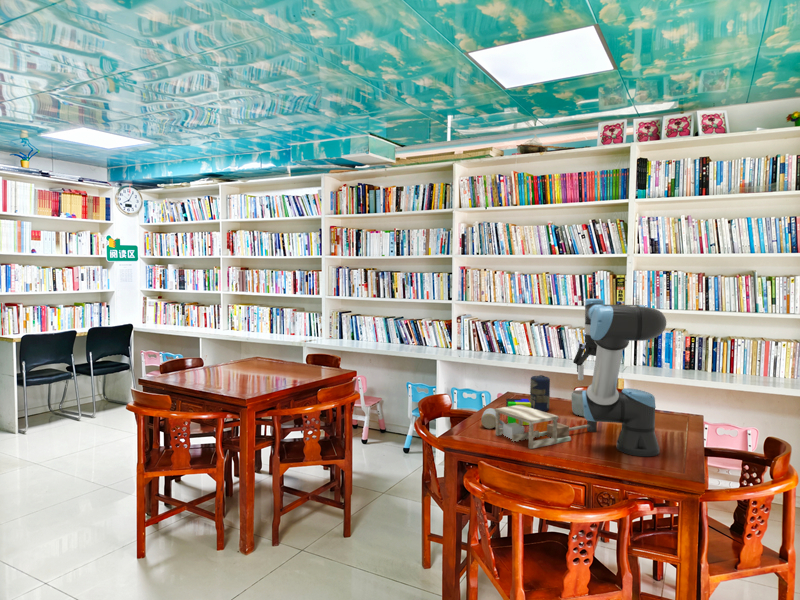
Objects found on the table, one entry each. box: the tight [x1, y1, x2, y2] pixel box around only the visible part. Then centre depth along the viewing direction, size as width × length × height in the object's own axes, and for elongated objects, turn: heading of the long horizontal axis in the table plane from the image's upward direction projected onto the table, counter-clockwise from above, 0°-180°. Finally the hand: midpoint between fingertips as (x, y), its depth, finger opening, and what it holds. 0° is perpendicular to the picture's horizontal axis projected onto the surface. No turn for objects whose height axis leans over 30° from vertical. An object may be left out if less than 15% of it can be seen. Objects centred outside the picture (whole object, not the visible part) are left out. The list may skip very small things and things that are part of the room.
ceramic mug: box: [480, 407, 506, 430], centre depth 237 cm, size 11×8×8 cm
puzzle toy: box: [505, 397, 531, 425], centre depth 245 cm, size 10×10×10 cm
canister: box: [529, 374, 551, 412], centre depth 268 cm, size 10×10×18 cm
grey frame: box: [546, 420, 598, 439], centre depth 227 cm, size 25×6×12 cm, turn 118°
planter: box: [571, 389, 586, 417], centre depth 259 cm, size 12×12×11 cm
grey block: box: [502, 423, 525, 440], centre depth 223 cm, size 6×6×5 cm
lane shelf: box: [494, 405, 572, 450], centre depth 221 cm, size 22×22×11 cm
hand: (592, 382), depth 232 cm, fingers open, 13 cm apart
